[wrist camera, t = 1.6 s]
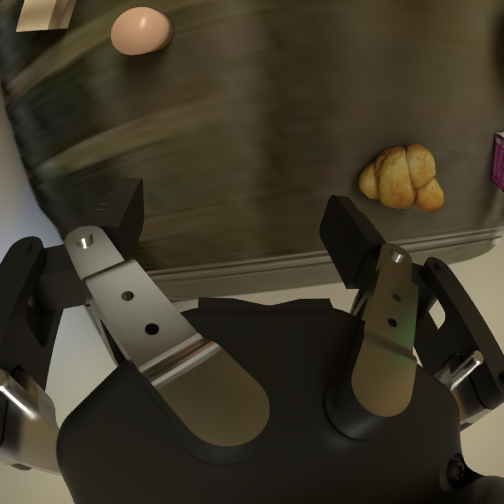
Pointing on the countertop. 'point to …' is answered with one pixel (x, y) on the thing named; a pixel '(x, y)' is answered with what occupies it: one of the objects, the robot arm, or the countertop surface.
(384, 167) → the bread roll
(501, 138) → the candy bar box
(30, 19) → the birch cube
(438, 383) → the robot arm
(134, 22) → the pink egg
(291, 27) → the countertop surface
